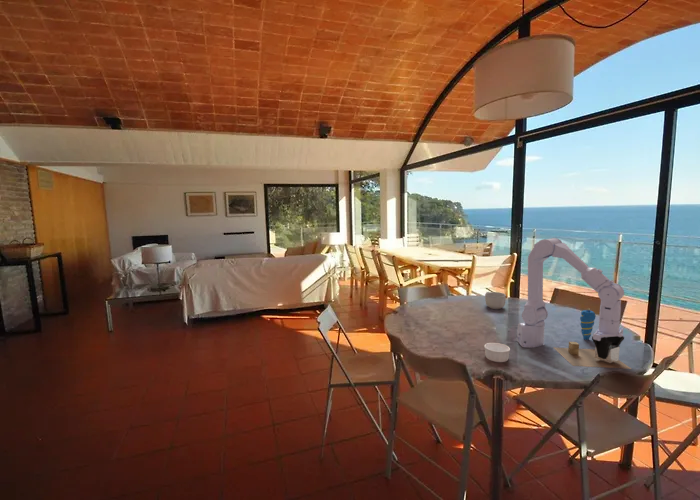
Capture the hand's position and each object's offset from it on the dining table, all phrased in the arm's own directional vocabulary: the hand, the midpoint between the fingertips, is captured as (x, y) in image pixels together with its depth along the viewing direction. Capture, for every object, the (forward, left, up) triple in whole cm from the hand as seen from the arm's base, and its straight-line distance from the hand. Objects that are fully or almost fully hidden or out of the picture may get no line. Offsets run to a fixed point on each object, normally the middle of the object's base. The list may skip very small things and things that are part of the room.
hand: (606, 356), depth 119 cm
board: (-4, +3, -3) cm, 6 cm away
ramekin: (-36, +2, -4) cm, 36 cm away
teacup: (-20, +73, -4) cm, 76 cm away
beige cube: (0, 0, -1) cm, 1 cm away
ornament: (+4, +22, -4) cm, 23 cm away
